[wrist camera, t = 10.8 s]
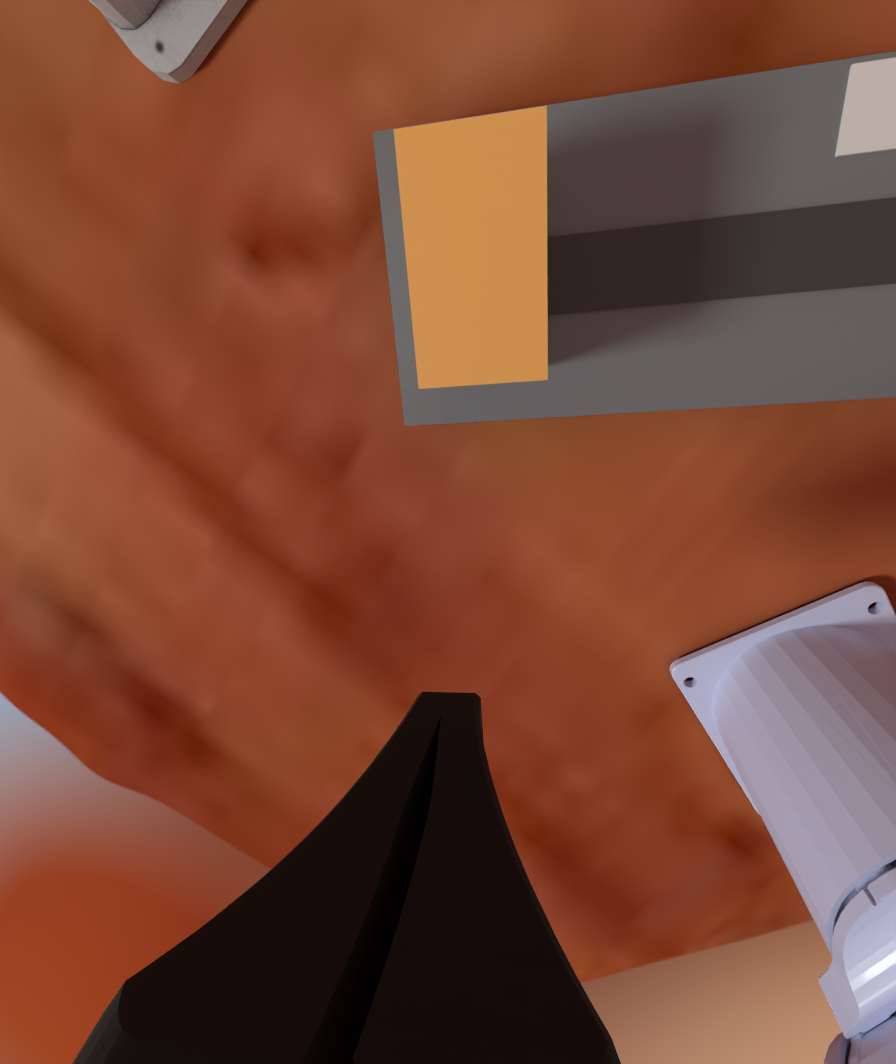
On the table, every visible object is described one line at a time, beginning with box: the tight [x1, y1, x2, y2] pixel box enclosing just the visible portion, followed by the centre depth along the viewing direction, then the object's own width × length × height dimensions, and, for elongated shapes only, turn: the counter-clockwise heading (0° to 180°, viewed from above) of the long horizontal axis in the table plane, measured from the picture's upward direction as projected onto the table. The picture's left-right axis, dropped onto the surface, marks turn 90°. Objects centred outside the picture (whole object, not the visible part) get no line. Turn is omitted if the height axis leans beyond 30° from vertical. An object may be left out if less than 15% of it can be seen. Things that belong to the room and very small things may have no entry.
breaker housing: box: [373, 51, 896, 426], centre depth 14 cm, size 16×8×2 cm, turn 95°
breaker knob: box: [394, 106, 548, 389], centre depth 12 cm, size 3×5×4 cm, turn 5°
